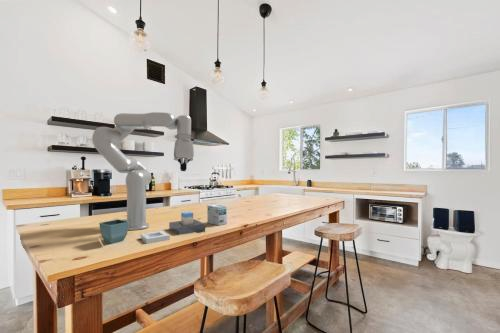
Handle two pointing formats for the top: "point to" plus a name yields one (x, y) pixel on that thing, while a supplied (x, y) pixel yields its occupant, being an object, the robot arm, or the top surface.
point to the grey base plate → (155, 237)
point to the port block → (187, 227)
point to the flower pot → (114, 230)
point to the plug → (186, 218)
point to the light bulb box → (217, 214)
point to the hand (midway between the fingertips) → (183, 171)
